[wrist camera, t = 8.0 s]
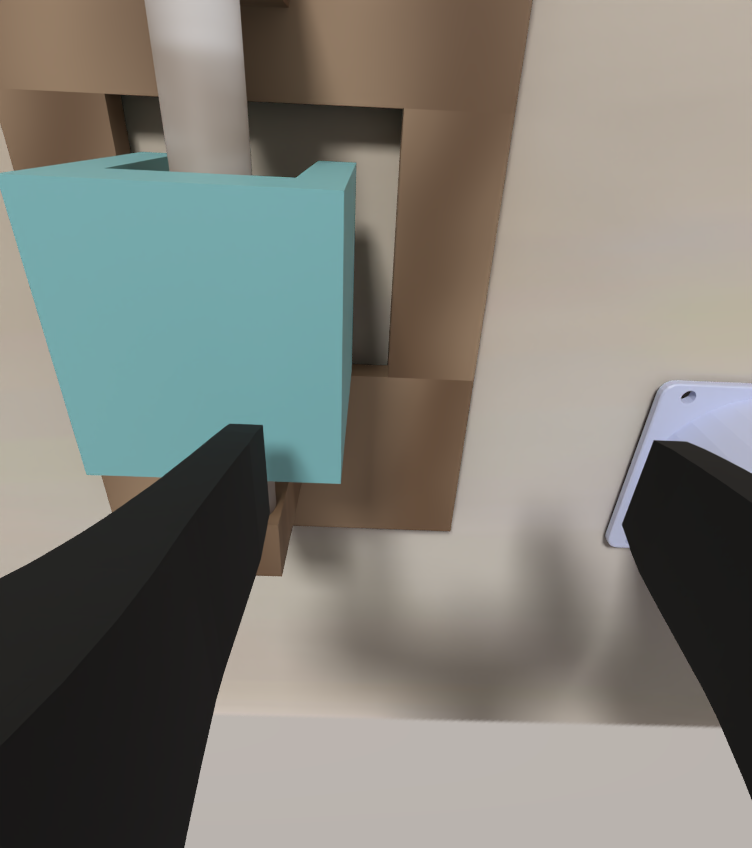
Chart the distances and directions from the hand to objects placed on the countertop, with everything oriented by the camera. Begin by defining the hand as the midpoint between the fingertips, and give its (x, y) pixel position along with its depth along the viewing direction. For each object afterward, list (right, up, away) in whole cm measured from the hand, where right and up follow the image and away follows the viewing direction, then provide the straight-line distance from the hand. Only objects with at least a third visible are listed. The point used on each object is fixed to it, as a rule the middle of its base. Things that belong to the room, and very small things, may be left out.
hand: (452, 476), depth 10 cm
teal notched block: (-5, +5, +5) cm, 9 cm away
